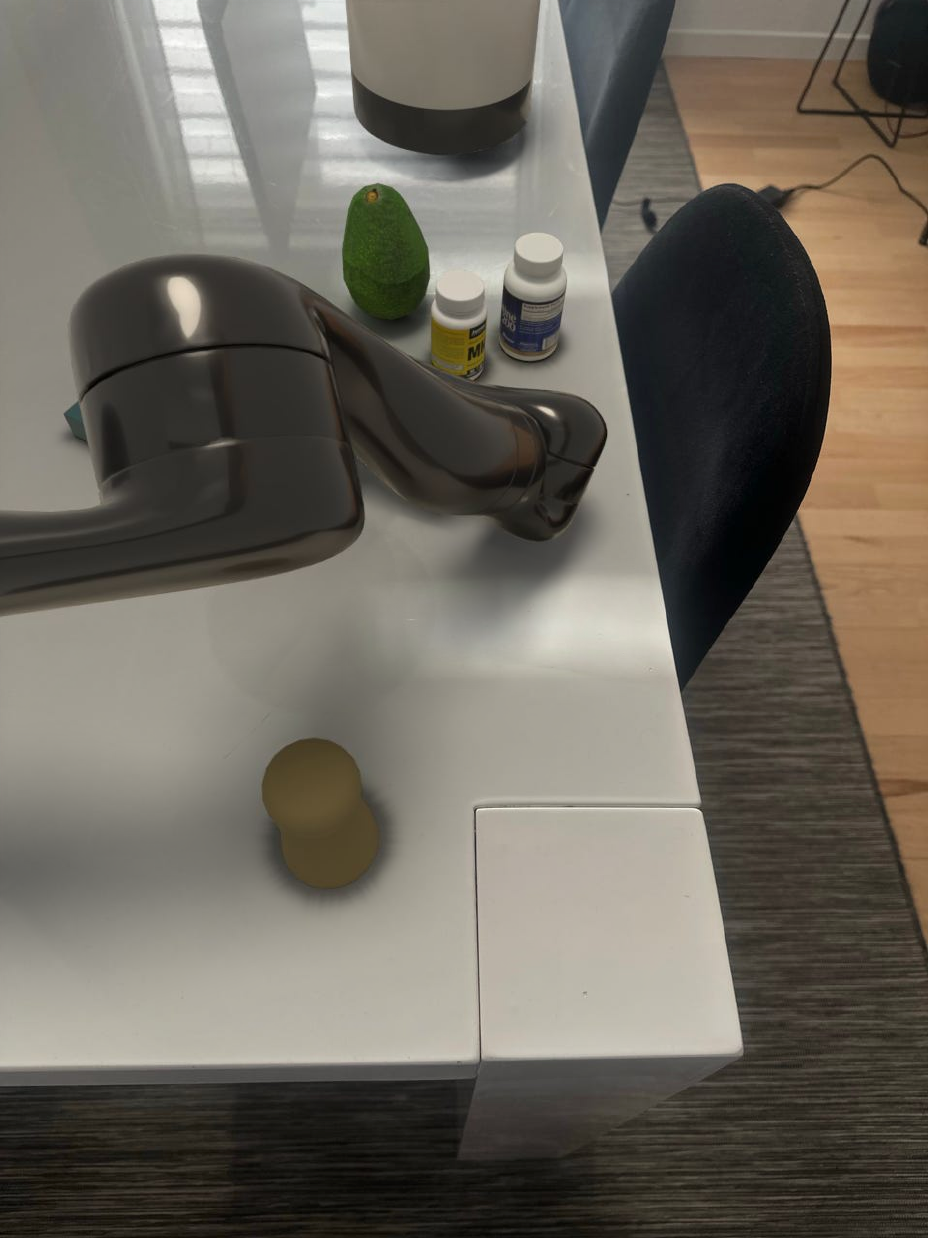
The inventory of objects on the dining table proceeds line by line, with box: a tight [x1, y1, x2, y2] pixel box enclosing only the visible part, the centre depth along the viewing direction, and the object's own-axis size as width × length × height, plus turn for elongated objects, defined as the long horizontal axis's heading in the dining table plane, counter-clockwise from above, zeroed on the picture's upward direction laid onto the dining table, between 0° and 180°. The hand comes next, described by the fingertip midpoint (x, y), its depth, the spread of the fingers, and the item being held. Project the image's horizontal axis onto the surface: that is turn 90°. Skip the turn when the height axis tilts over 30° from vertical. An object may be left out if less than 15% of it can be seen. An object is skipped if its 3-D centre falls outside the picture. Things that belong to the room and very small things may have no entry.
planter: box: [344, 0, 541, 157], centre depth 86 cm, size 19×19×18 cm
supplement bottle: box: [430, 269, 488, 381], centre depth 71 cm, size 5×5×8 cm
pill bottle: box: [498, 232, 568, 362], centre depth 72 cm, size 5×5×10 cm
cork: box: [261, 737, 380, 890], centre depth 47 cm, size 6×6×11 cm
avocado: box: [341, 182, 431, 321], centre depth 73 cm, size 8×8×12 cm
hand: (163, 301), depth 66 cm, fingers closed
